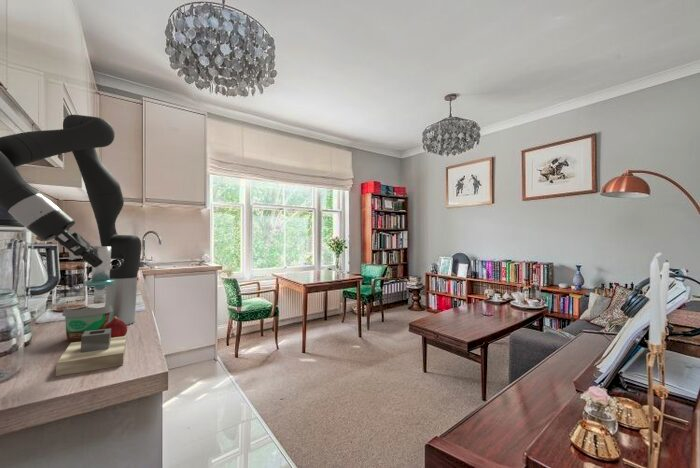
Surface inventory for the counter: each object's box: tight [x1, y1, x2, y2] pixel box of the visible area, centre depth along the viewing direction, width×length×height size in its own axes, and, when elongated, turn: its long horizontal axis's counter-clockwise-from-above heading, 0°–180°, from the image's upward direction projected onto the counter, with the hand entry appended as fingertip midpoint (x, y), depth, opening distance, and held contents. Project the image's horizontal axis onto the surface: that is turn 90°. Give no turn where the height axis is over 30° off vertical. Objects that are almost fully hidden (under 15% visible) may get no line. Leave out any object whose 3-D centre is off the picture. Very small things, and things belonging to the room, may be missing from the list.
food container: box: [61, 305, 113, 343], centre depth 91 cm, size 12×6×10 cm, turn 114°
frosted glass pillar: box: [84, 245, 115, 305], centre depth 77 cm, size 6×6×15 cm
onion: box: [104, 316, 128, 338], centre depth 89 cm, size 6×6×8 cm
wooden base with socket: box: [55, 328, 127, 377], centre depth 76 cm, size 16×12×7 cm
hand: (101, 264), depth 77 cm, fingers open, 8 cm apart
